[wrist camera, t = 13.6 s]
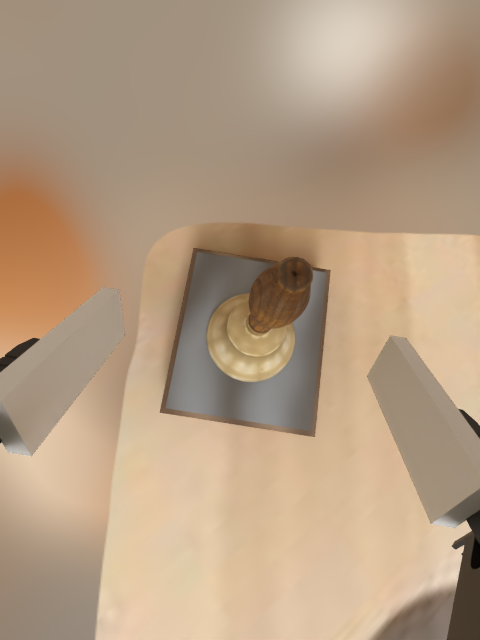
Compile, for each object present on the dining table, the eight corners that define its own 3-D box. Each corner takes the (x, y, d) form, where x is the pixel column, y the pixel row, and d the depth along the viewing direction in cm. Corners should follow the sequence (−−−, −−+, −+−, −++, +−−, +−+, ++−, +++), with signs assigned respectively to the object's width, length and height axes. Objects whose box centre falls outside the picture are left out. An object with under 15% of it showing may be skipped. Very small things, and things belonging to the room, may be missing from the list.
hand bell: (260, 277, 26) (306, 131, 10) (312, 346, 25) (457, 303, 9) (189, 326, 25) (116, 246, 9) (240, 400, 23) (263, 459, 8)
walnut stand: (318, 281, 30) (331, 268, 26) (303, 428, 27) (316, 438, 23) (198, 262, 30) (193, 246, 26) (168, 407, 27) (158, 413, 23)
